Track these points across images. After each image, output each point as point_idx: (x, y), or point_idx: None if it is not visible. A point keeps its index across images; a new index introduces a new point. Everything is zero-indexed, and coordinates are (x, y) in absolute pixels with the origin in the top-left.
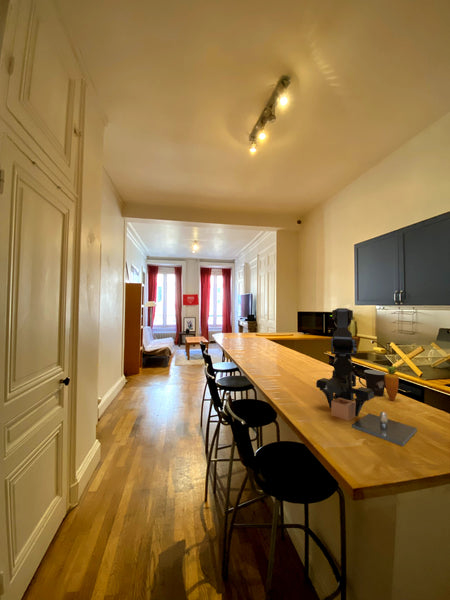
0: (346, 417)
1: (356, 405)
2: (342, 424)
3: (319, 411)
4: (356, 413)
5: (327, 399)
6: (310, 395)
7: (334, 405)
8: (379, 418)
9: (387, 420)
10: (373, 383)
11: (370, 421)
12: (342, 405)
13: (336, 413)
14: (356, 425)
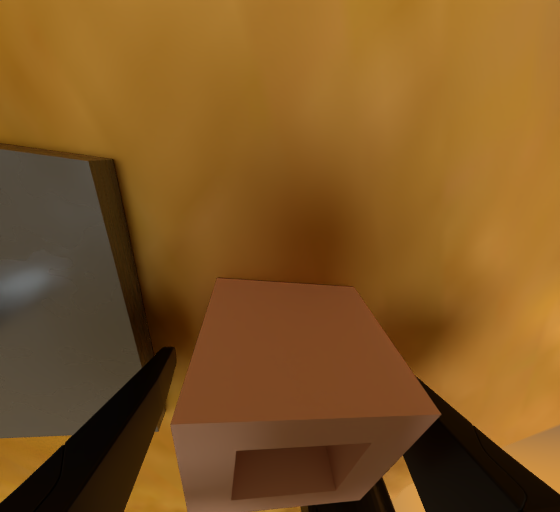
0: (228, 292)
1: (52, 503)
2: (216, 164)
3: (444, 281)
4: (145, 372)
5: (465, 423)
6: (487, 416)
7: (371, 365)
8: (65, 416)
9: (14, 423)
10: None
11: (53, 348)
12: (268, 402)
13: (321, 301)
14: (36, 170)
